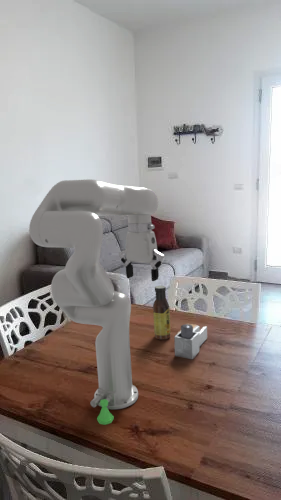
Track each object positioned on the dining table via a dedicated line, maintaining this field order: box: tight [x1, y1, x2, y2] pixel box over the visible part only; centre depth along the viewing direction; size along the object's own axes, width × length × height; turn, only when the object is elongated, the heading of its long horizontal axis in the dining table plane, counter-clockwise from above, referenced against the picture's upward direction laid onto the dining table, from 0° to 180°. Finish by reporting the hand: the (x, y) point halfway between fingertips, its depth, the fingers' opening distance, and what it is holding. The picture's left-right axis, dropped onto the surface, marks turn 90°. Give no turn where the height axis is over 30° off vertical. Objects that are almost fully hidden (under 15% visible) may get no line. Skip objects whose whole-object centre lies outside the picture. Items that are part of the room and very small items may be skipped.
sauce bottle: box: [152, 285, 171, 340], centre depth 152 cm, size 6×6×20 cm
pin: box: [180, 323, 193, 339], centre depth 139 cm, size 4×4×10 cm
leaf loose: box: [198, 325, 208, 348], centre depth 147 cm, size 8×1×4 cm, turn 151°
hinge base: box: [174, 323, 201, 360], centre depth 145 cm, size 18×9×7 cm, turn 151°
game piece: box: [96, 399, 115, 426], centre depth 105 cm, size 4×4×6 cm
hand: (142, 278), depth 135 cm, fingers open, 9 cm apart
